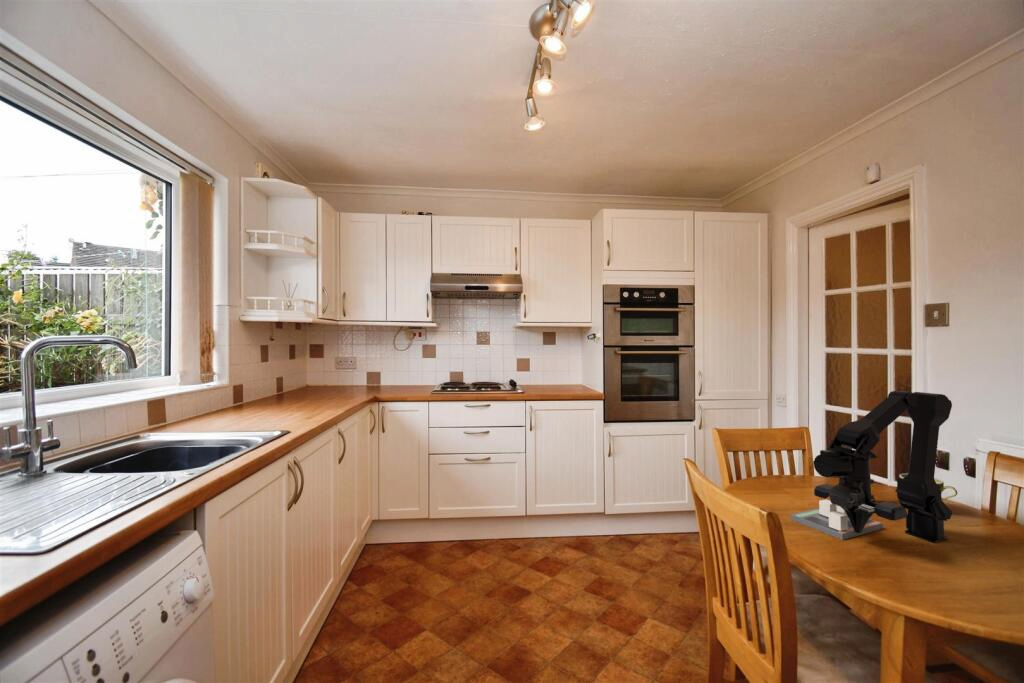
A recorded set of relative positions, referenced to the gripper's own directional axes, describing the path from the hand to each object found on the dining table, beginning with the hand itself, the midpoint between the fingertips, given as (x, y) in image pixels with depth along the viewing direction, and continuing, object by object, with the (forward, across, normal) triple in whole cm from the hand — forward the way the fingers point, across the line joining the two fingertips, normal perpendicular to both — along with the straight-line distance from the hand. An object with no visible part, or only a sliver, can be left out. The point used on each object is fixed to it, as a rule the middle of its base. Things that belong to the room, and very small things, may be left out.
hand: (857, 532), depth 107 cm
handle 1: (+1, -11, +7) cm, 13 cm away
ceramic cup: (+3, -4, +43) cm, 43 cm away
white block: (+1, -11, +13) cm, 17 cm away
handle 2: (+1, -5, 0) cm, 5 cm away
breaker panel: (+2, -9, +6) cm, 12 cm away
